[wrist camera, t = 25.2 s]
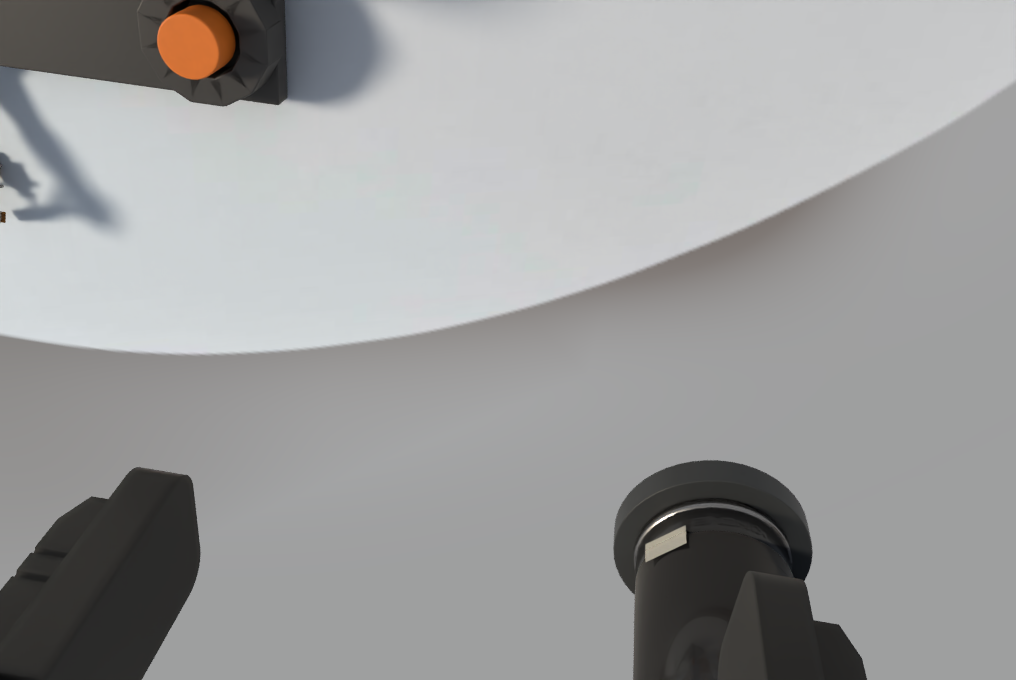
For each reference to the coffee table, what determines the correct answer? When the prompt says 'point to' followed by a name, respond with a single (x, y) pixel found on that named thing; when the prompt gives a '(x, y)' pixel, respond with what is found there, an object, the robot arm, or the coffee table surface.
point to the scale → (145, 45)
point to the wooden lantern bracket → (2, 215)
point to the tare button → (196, 42)
